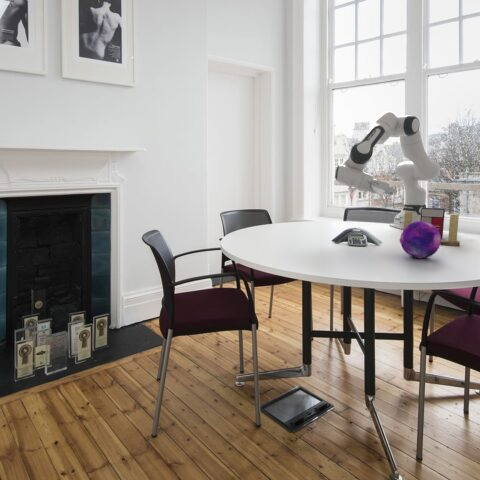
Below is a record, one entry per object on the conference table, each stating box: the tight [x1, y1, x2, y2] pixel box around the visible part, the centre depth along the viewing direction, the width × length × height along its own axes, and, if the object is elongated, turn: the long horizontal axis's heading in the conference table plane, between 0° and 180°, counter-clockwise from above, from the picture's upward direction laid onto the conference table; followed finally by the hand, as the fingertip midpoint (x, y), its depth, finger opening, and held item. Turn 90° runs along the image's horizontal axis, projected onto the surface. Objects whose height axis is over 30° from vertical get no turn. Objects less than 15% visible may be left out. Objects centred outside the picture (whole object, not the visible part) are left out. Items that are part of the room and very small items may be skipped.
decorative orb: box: [399, 221, 441, 259], centre depth 176 cm, size 15×15×15 cm
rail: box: [399, 237, 460, 247], centre depth 211 cm, size 26×7×2 cm, turn 65°
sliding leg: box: [404, 211, 413, 228], centre depth 214 cm, size 5×5×13 cm
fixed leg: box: [446, 213, 460, 243], centre depth 206 cm, size 5×5×13 cm
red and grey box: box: [420, 207, 446, 238], centre depth 228 cm, size 11×4×15 cm, turn 62°
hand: (394, 193), depth 213 cm, fingers open, 8 cm apart
